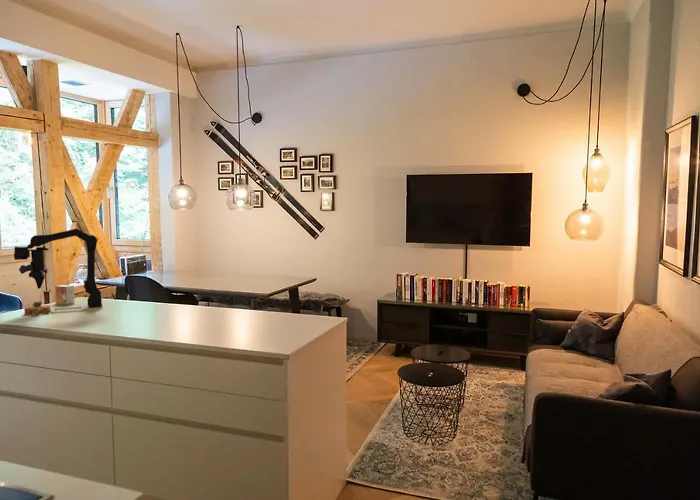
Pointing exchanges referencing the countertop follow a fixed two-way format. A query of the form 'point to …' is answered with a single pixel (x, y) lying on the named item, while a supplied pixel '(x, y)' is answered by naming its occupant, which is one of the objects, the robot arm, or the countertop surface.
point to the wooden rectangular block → (39, 307)
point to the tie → (37, 304)
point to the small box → (64, 294)
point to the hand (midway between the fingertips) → (39, 288)
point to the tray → (67, 310)
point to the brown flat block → (36, 312)
